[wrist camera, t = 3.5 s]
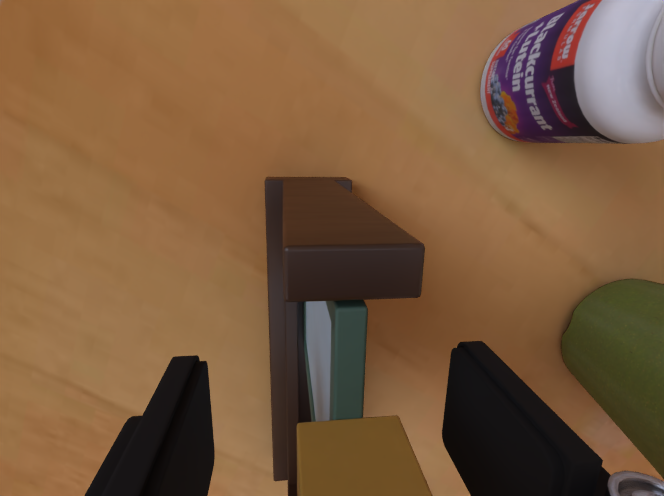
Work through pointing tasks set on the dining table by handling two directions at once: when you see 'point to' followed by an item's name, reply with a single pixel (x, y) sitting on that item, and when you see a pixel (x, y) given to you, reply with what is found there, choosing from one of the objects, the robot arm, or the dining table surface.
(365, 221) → the window frame
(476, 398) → the robot arm
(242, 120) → the dining table surface
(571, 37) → the pill bottle
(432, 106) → the dining table surface
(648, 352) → the plant pot
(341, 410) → the pane
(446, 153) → the dining table surface
